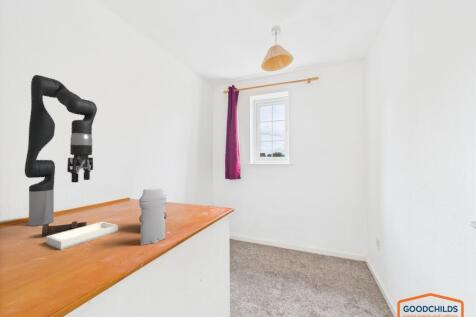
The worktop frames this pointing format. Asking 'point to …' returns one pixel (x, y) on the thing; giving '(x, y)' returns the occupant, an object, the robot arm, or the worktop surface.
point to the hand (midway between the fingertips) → (81, 181)
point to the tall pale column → (152, 215)
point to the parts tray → (80, 235)
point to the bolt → (61, 228)
